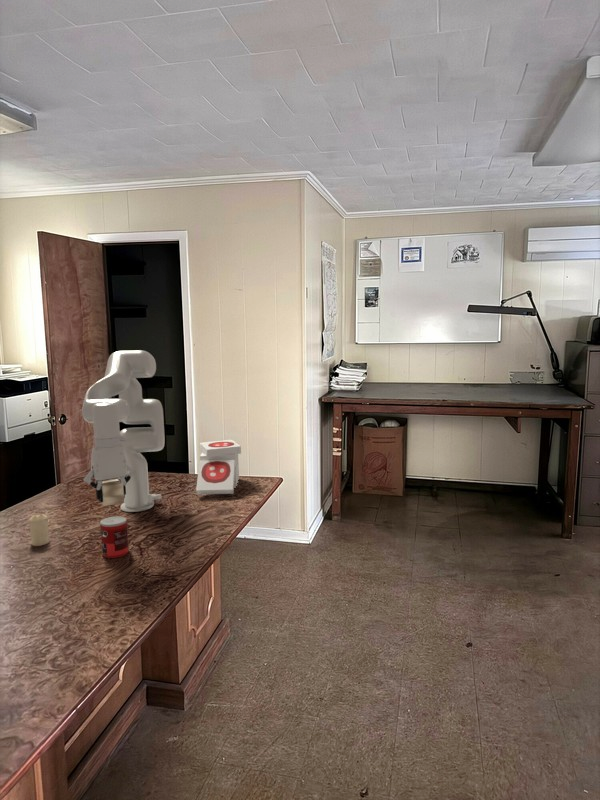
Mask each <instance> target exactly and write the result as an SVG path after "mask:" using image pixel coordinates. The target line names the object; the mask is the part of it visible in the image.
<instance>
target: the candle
mask: <svg viewBox="0 0 600 800" xmlns="http://www.w3.org/2000/svg"><path fill="white" fill-rule="evenodd" d="M28 521H29V531H30V541H31V545H32V546H34V547H39V546H45V545H47V544H49V543H50V531H49V529H50V528H49V520H48V516H47V515H46V514H44V513H37V512H36V513H34V514H32V516H31V517H30V518H29V519H28Z"/></svg>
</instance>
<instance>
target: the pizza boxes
mask: <svg viewBox="0 0 600 800" xmlns="http://www.w3.org/2000/svg"><path fill="white" fill-rule="evenodd" d="M199 451H201V454H200V455H199V462H198V470H197V480H196V489H195V490H196V495H233V494H234V490H235V489H234V488H235V487H236V486H237V487H238V484H239V481H238V480H240V471H239V470H240V469H239V465H240V464H239V454H240V455H241V454H242V447H241V445H240V444H239V443H237V441H235V440H233V439H224V440H214V441H213V440H212V441H205V442H204V441H203V442H199ZM237 483H238V484H237Z"/></svg>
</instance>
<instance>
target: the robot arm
mask: <svg viewBox="0 0 600 800" xmlns="http://www.w3.org/2000/svg"><path fill="white" fill-rule="evenodd" d="M106 363H107V364H106V368H105V372H104V377H102V378H101V379H99V380H98V381H96V382H95V383H93V384H92V385H91V386H90V387H88V388H87V391H86V392H85V394H84V398H83V402H82V407H81V414H82V418H83V419H84V421H85V422H86V423H90V424H93V425H92V426H93V437H94V438H93V439H94V447H92V449H91V457H90V471H89V472H88V473H87V474H86V475H85V477H84V478H83V481H84V482H85V483H87V484H88V485H90V486H91V487H93V489H95V495H96V496H95V497H96V500H97V501H99V503H101V502H103V494H102V489H101V485H102V482H103V481H109V480H115V479H118V480H119V481H121V482H122V483H123V489H124V502H122V503H120V504H121V505H120V506H119V507H120V510H121V511H123V512H126V513H127V512H128V513H134V512H135V513H138V512H145V511H147V510H149V509H151V508H153V507H154V505H155V502H154V501H155V500H161V499H162V497H163V496H162V494H161V493H158V494H157V493H150V488H149V473H148V462H147V459H146V458H145V456H144V455H143V454H142V453H147V452H149V453H151V452H159V451H162V450H163V449H164V447H165V425H164V424H165V423H164V419H165V418H164V408H163V404H162V402H161V401H160V400H159V399H155V398H143V388H142V384H141V383H140V382H139V381H138V379H141V378H142V379H144V378H153V377H154V376H155V374H156V371H157V363H156V359H155V358H154V356H153V355H152V354H151V353H150V352H148V351H146V350H141V349H139V350H137V349H136V350H133V349H132V350H118V351H115V352H112V353H111V354H110V355H109V357H108V359H107V362H106ZM115 396H118V398H112V397H115ZM120 423H123V424H125V425H150V426H147V427H145V426H142V427H127V428H123V429H121V430H120V427H121V426H120ZM93 478H94V480H95V481H93V480H92V479H93Z"/></svg>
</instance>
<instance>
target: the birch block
mask: <svg viewBox="0 0 600 800" xmlns="http://www.w3.org/2000/svg"><path fill="white" fill-rule="evenodd" d="M101 489H102V494H103V502H100V503H101V504H102V505H103V506H104V507H106V506H111V505H116V504H123V503H124V489H123V483H122V482H121V481H119V479H118V478H115V479H110V480H103V482H102V485H101Z"/></svg>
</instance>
